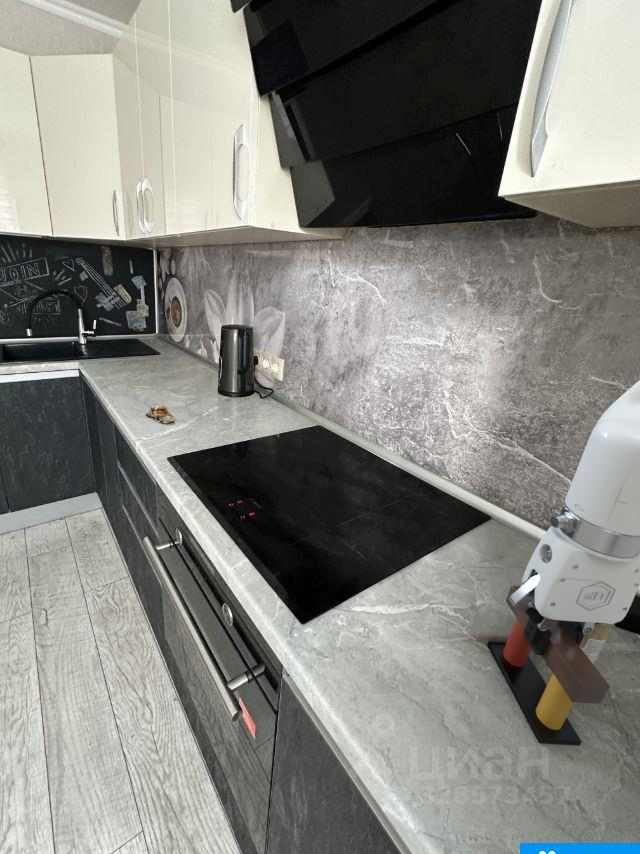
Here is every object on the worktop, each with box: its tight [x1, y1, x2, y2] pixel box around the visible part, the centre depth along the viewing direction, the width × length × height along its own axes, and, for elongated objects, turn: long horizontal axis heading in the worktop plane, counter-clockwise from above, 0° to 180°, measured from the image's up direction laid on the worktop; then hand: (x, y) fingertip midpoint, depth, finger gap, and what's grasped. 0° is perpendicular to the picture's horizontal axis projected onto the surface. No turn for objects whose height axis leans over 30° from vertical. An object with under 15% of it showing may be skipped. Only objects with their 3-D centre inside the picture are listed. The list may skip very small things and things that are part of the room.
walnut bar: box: [505, 585, 611, 705], centre depth 49 cm, size 14×3×3 cm, turn 179°
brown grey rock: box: [145, 405, 176, 424], centre depth 133 cm, size 7×12×4 cm, turn 49°
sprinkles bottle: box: [579, 623, 616, 665], centre depth 53 cm, size 5×5×13 cm
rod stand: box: [486, 617, 582, 746], centre depth 51 cm, size 5×13×8 cm, turn 179°
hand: (547, 645), depth 50 cm, fingers closed on walnut bar, 3 cm apart
